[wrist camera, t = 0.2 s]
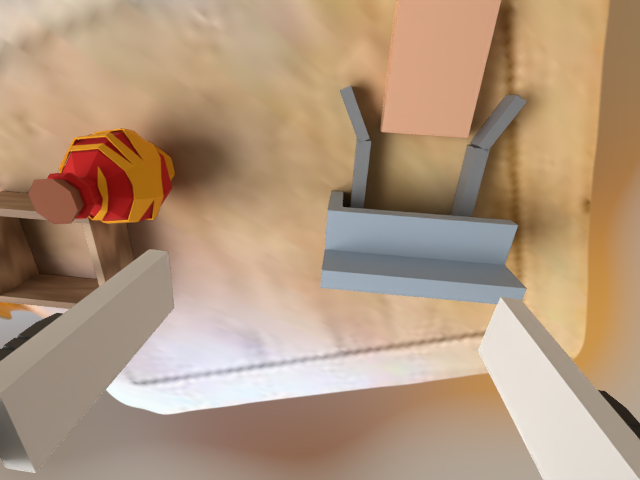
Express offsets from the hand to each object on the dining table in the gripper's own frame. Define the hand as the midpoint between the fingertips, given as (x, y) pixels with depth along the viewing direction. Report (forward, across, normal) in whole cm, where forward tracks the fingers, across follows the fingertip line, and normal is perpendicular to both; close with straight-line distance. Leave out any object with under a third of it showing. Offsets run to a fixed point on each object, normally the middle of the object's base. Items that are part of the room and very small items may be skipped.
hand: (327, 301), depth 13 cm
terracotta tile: (+28, +8, +11) cm, 31 cm away
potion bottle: (+28, -23, -3) cm, 36 cm away
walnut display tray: (+28, -37, -16) cm, 49 cm away
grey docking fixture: (+28, +8, 0) cm, 29 cm away
